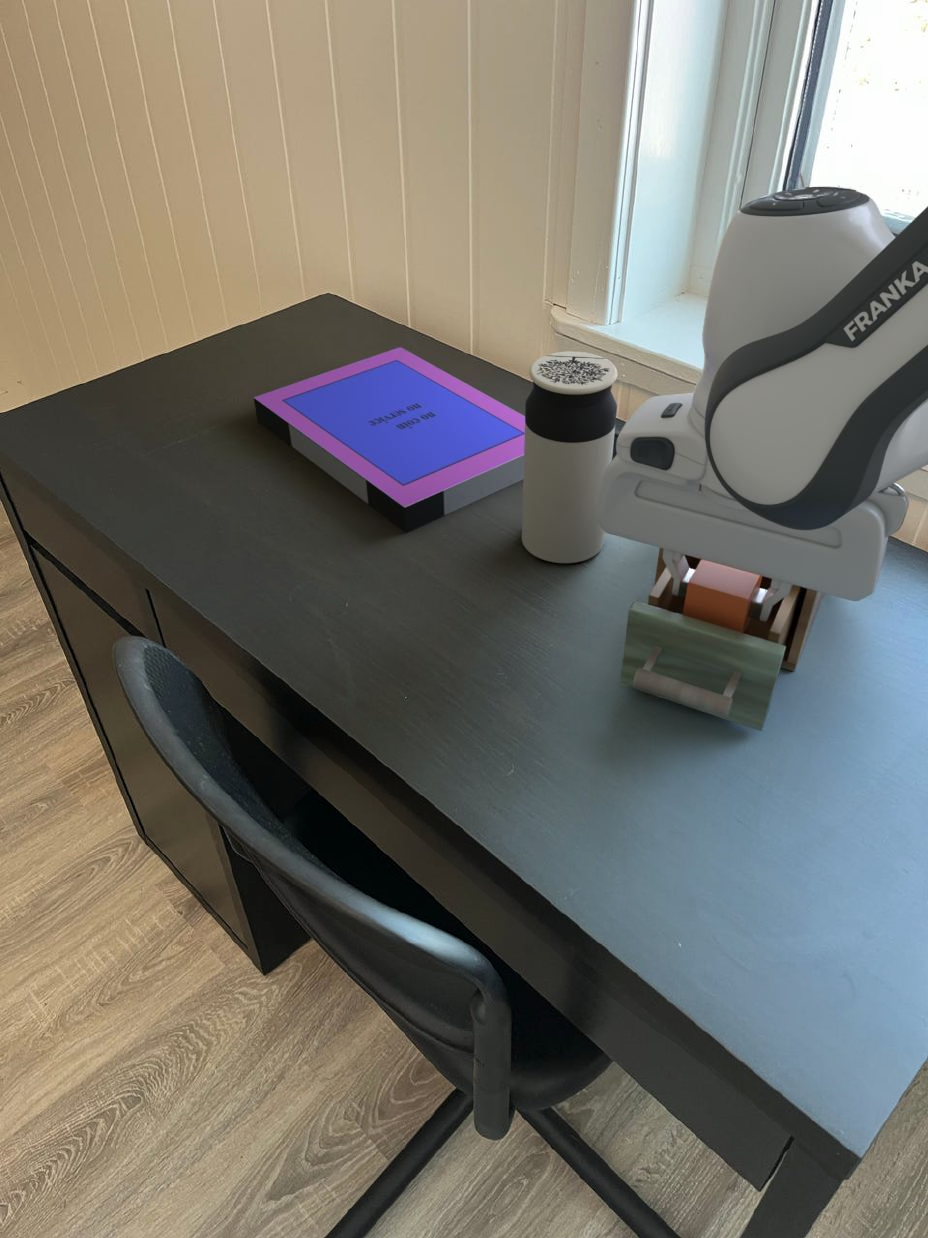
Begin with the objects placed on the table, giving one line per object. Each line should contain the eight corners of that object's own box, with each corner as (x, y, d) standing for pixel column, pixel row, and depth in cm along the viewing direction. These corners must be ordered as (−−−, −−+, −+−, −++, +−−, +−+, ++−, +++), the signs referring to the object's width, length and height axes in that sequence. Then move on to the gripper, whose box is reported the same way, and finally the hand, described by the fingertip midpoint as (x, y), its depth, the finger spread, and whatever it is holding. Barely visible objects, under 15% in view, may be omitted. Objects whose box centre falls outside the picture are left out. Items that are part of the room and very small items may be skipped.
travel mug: (595, 572, 88) (611, 396, 77) (512, 558, 90) (516, 384, 78) (610, 525, 94) (627, 354, 82) (532, 513, 96) (538, 344, 84)
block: (753, 611, 74) (764, 566, 71) (737, 646, 71) (748, 599, 68) (697, 595, 76) (706, 550, 73) (680, 628, 73) (688, 582, 70)
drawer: (746, 770, 68) (766, 694, 63) (599, 718, 73) (607, 643, 68) (802, 627, 80) (823, 553, 75) (673, 590, 85) (685, 517, 80)
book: (400, 346, 120) (563, 437, 101) (401, 368, 121) (561, 461, 103) (253, 397, 110) (404, 507, 92) (257, 420, 112) (406, 532, 94)
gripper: (924, 458, 62) (869, 619, 70) (627, 393, 69) (611, 547, 78) (909, 506, 57) (852, 671, 66) (595, 432, 65) (582, 589, 74)
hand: (720, 603), depth 72 cm, fingers closed on block, 4 cm apart
